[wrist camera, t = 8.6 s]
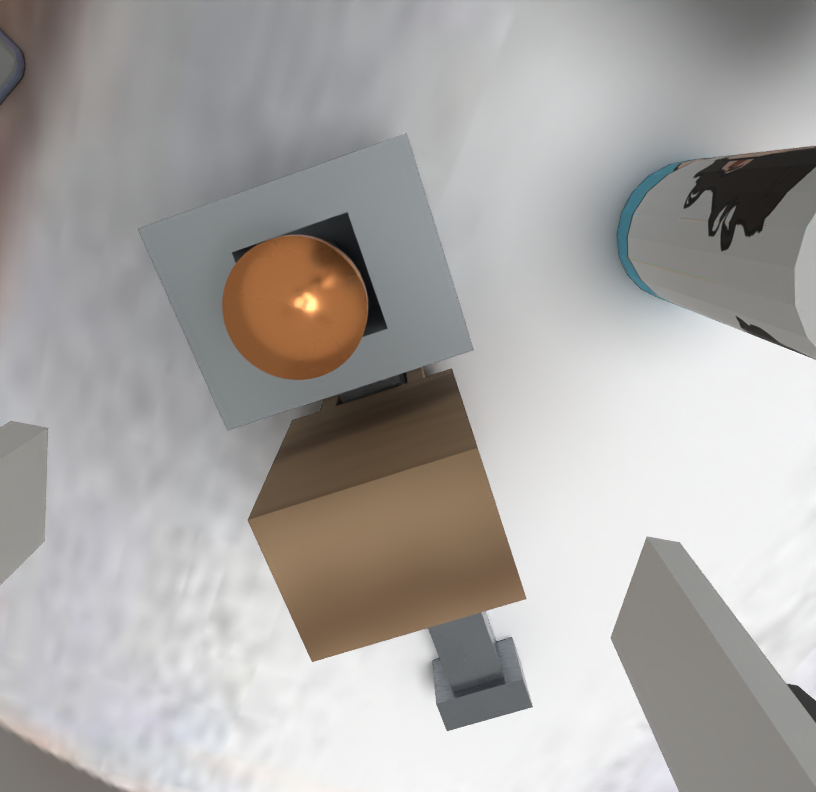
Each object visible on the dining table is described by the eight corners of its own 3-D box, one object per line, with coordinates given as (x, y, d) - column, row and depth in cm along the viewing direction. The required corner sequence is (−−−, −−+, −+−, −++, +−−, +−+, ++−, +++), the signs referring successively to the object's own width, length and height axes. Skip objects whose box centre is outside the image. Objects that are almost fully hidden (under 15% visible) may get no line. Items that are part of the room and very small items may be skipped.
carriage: (300, 401, 34) (247, 520, 22) (446, 354, 33) (477, 447, 21) (340, 500, 36) (311, 661, 23) (480, 456, 35) (526, 598, 23)
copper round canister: (248, 246, 26) (199, 264, 19) (352, 210, 26) (337, 215, 19) (289, 347, 27) (255, 397, 21) (388, 314, 27) (386, 354, 20)
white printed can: (744, 297, 33) (1009, 376, 19) (613, 303, 33) (778, 385, 19) (760, 157, 31) (1069, 126, 17) (620, 162, 31) (812, 136, 17)
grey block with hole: (207, 219, 32) (137, 228, 23) (403, 149, 31) (406, 133, 22) (269, 370, 34) (227, 430, 25) (453, 309, 33) (473, 350, 25)
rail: (314, 355, 34) (305, 373, 30) (406, 324, 33) (408, 339, 30) (442, 686, 40) (447, 731, 37) (521, 663, 40) (532, 706, 36)
